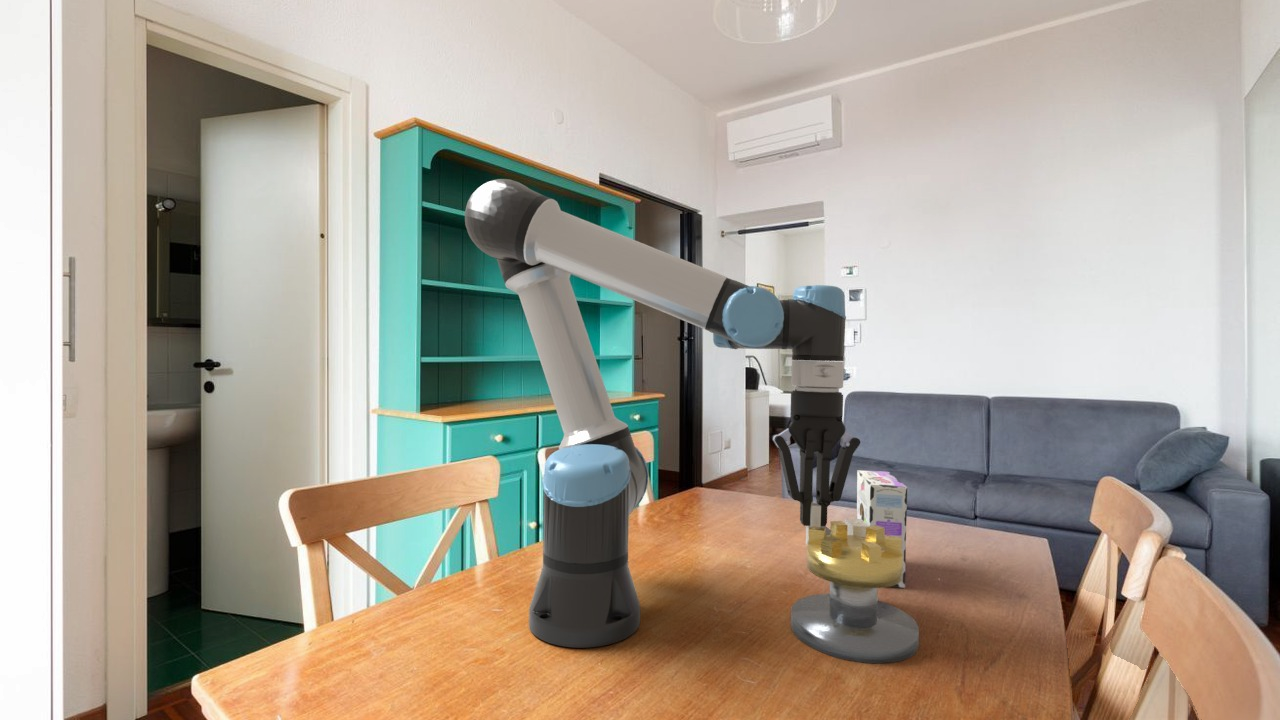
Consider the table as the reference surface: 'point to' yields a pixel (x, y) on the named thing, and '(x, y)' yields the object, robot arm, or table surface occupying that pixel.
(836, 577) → the gold studded disc
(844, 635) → the nut base
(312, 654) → the table surface
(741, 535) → the table surface
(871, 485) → the candy box
